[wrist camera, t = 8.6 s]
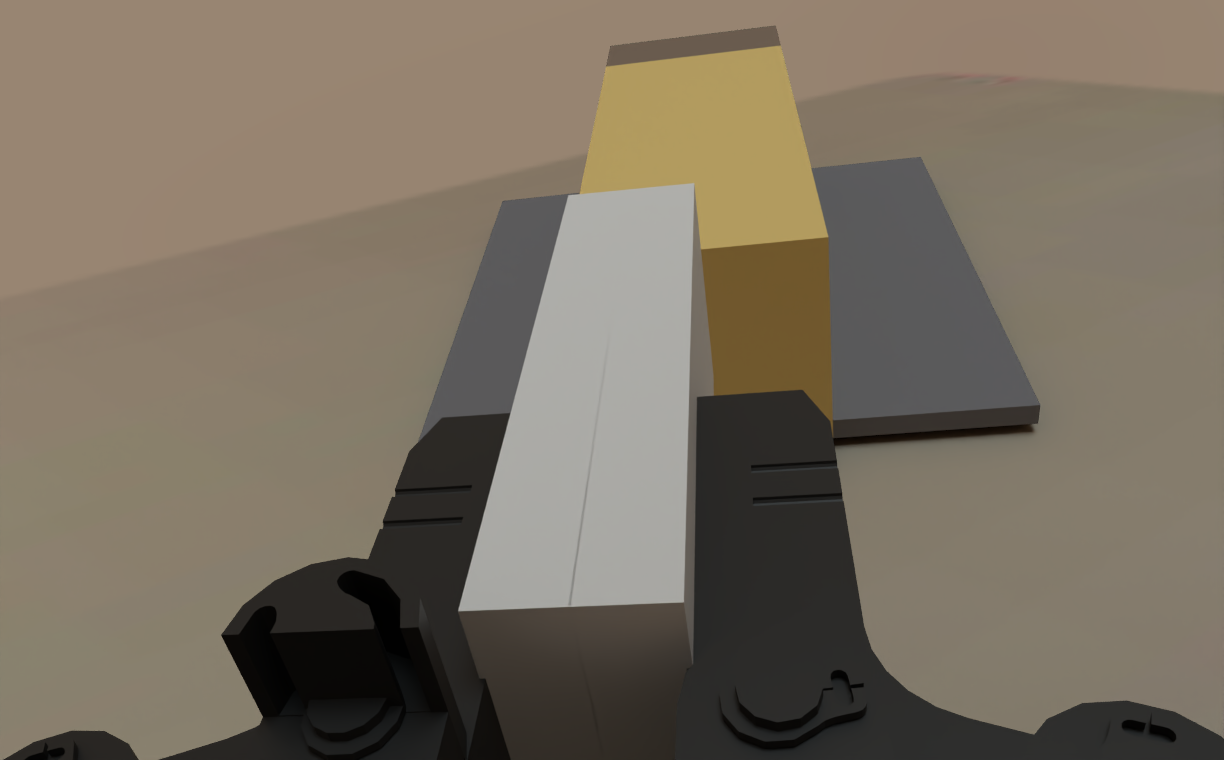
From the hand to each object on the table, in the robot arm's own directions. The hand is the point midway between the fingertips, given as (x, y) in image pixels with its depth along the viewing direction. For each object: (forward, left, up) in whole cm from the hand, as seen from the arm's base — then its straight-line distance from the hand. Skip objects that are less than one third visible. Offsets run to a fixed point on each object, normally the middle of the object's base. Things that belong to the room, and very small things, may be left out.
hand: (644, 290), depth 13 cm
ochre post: (0, -6, -5) cm, 8 cm away
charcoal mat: (0, -14, -8) cm, 16 cm away
